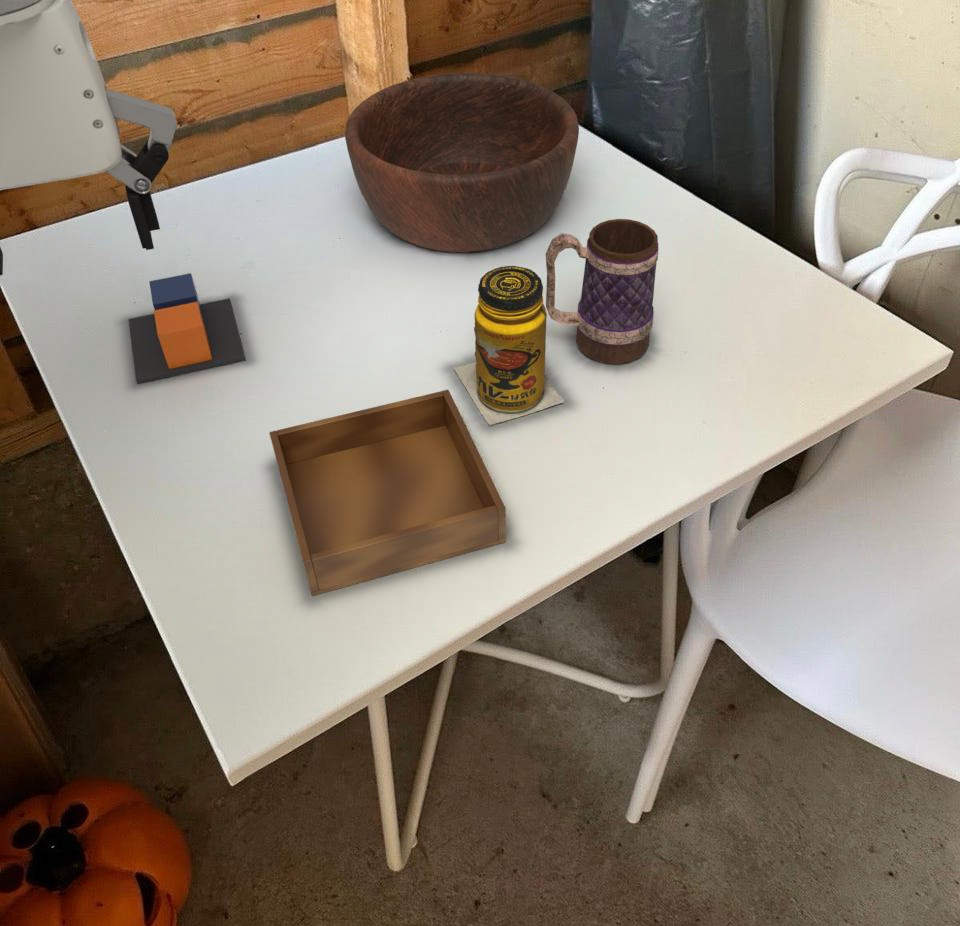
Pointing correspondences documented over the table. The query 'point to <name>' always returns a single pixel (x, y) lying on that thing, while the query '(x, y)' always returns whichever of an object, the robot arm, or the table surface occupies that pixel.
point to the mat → (223, 352)
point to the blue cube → (174, 292)
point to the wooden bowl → (462, 158)
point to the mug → (610, 289)
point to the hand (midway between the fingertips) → (73, 253)
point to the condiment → (509, 347)
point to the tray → (386, 491)
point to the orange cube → (182, 335)
